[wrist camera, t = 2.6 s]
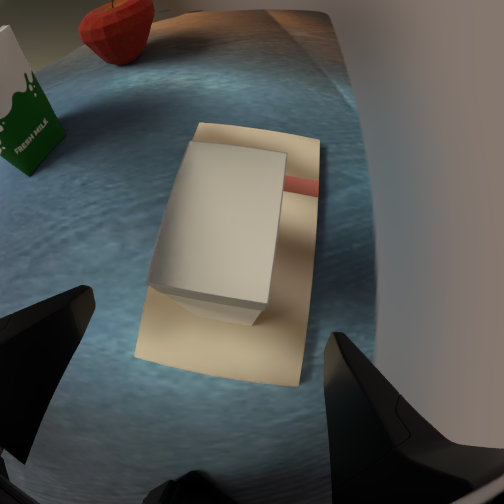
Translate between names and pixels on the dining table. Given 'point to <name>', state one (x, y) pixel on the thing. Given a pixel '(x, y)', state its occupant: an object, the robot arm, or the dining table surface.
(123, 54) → the apple
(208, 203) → the white slab
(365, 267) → the dining table surface
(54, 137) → the milk carton
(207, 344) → the board
